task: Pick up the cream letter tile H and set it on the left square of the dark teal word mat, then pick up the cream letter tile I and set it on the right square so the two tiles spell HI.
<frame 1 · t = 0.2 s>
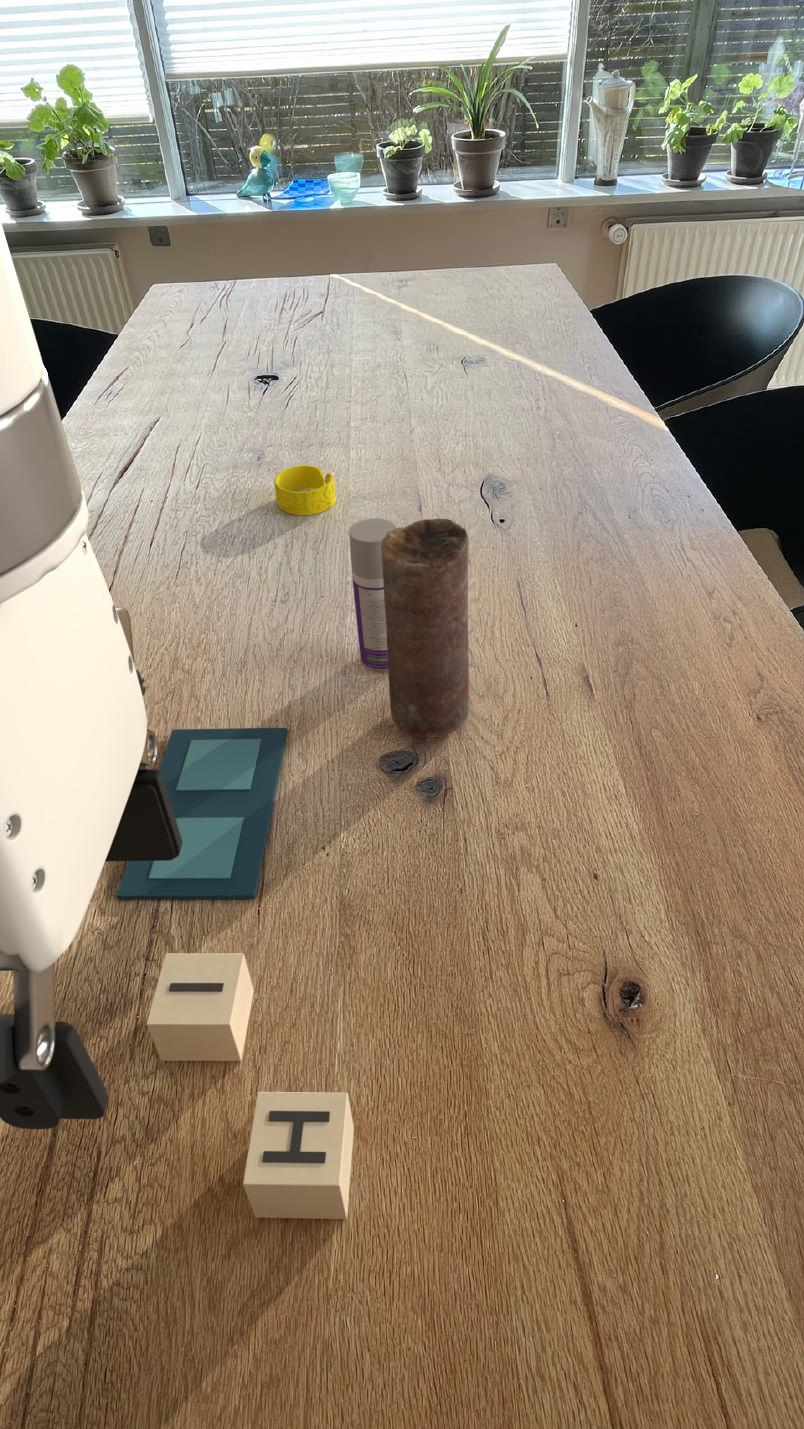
hand: (102, 966, 31), 33 cm above the table, tool pointing down, fingers open, 9 cm apart
bracelet: (306, 502, 125), on the table
tile H: (306, 1171, 58), on the table
word mat: (210, 808, 82), on the table
tile I: (209, 1024, 66), on the table
candle: (430, 723, 90), on the table
container: (383, 660, 98), on the table
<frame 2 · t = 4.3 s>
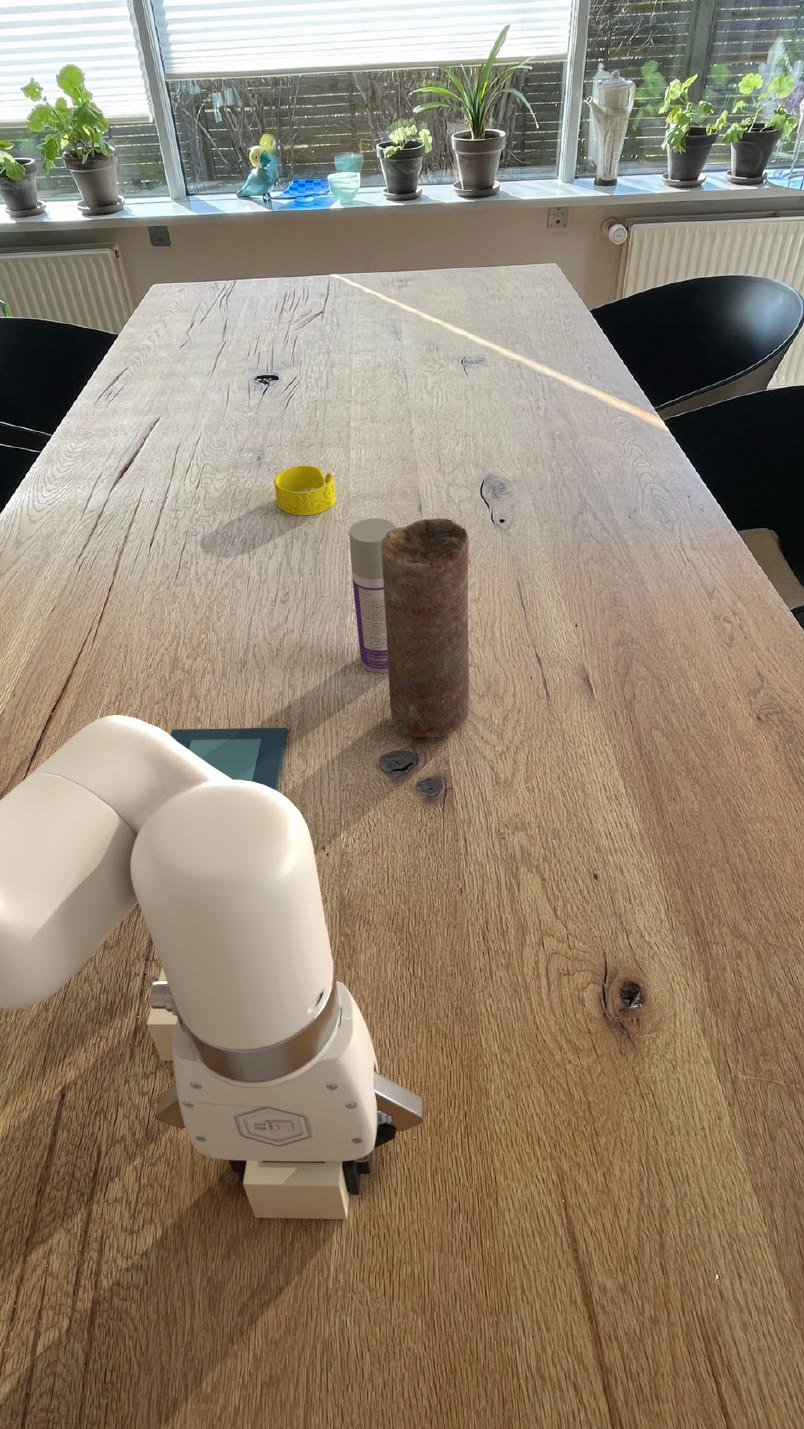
hand: (305, 1167, 58), 1 cm above the table, tool pointing down, fingers closed on tile H, 5 cm apart
tile H: (306, 1171, 58), on the table, touching gripper
everything else where it was.
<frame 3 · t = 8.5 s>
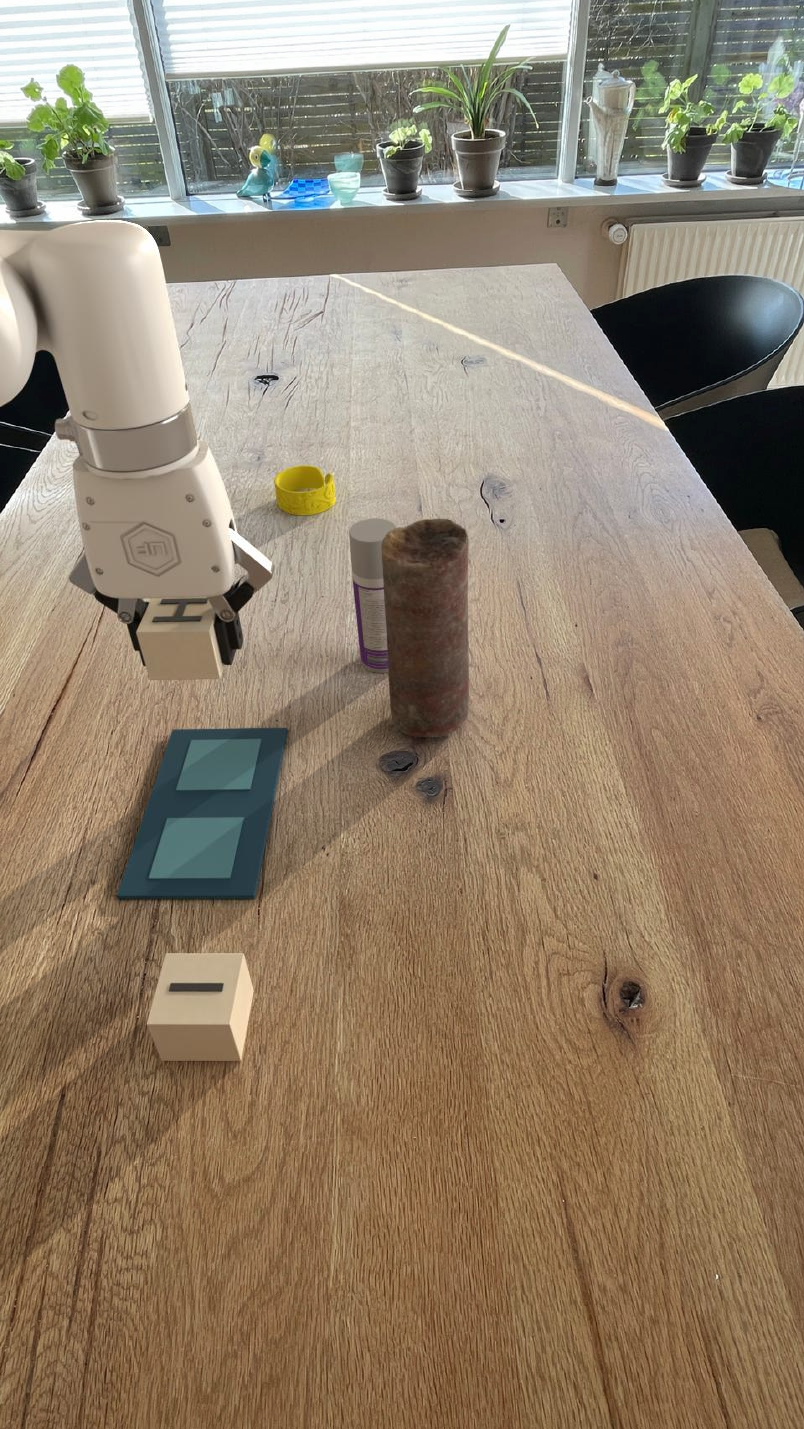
hand: (191, 653, 74), 15 cm above the table, tool pointing down, fingers closed on tile H, 5 cm apart
tile H: (192, 658, 74), point 15 cm above the table, touching gripper
everything else where it was.
when the fingers open (1 cm above the table, at t = 12.5 s): tile H stays where it is, resting on word mat.
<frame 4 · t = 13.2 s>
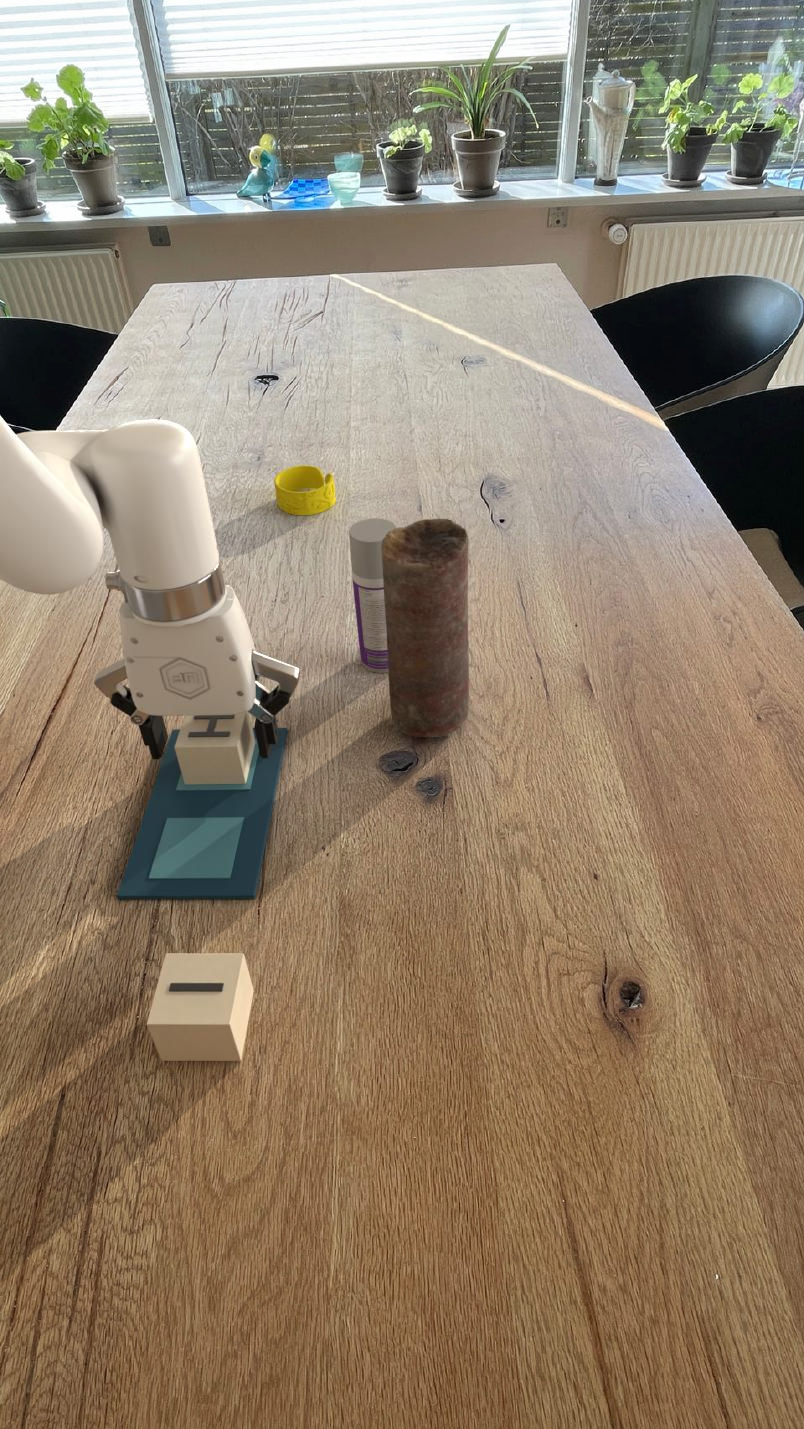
hand: (213, 748, 85), 3 cm above the table, tool pointing down, fingers open, 9 cm apart
tile H: (221, 763, 86), point 1 cm above the table, touching word mat
everything else where it was.
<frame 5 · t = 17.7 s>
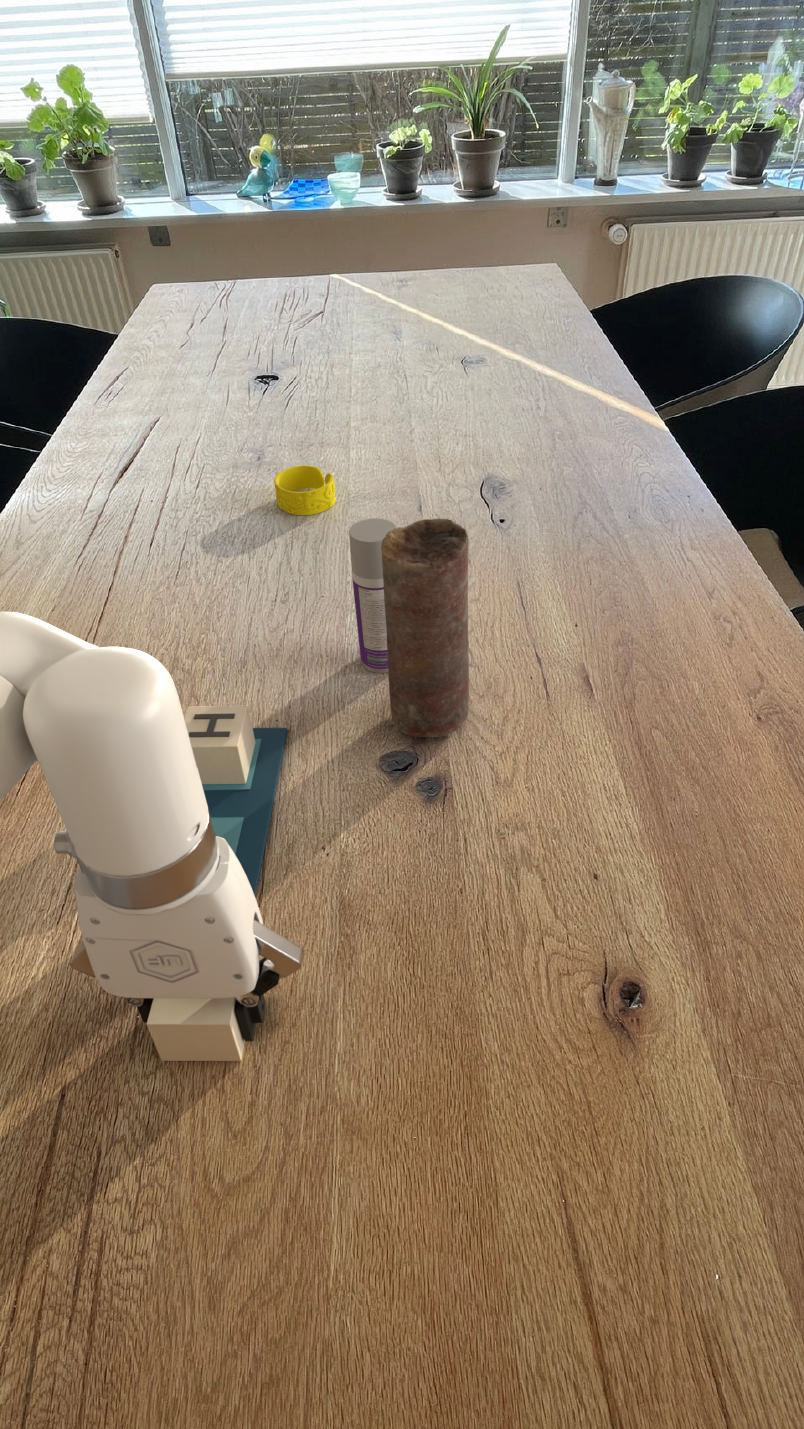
hand: (207, 1020, 66), 1 cm above the table, tool pointing down, fingers closed on tile I, 5 cm apart
tile I: (209, 1024, 66), on the table, touching gripper
everything else where it was.
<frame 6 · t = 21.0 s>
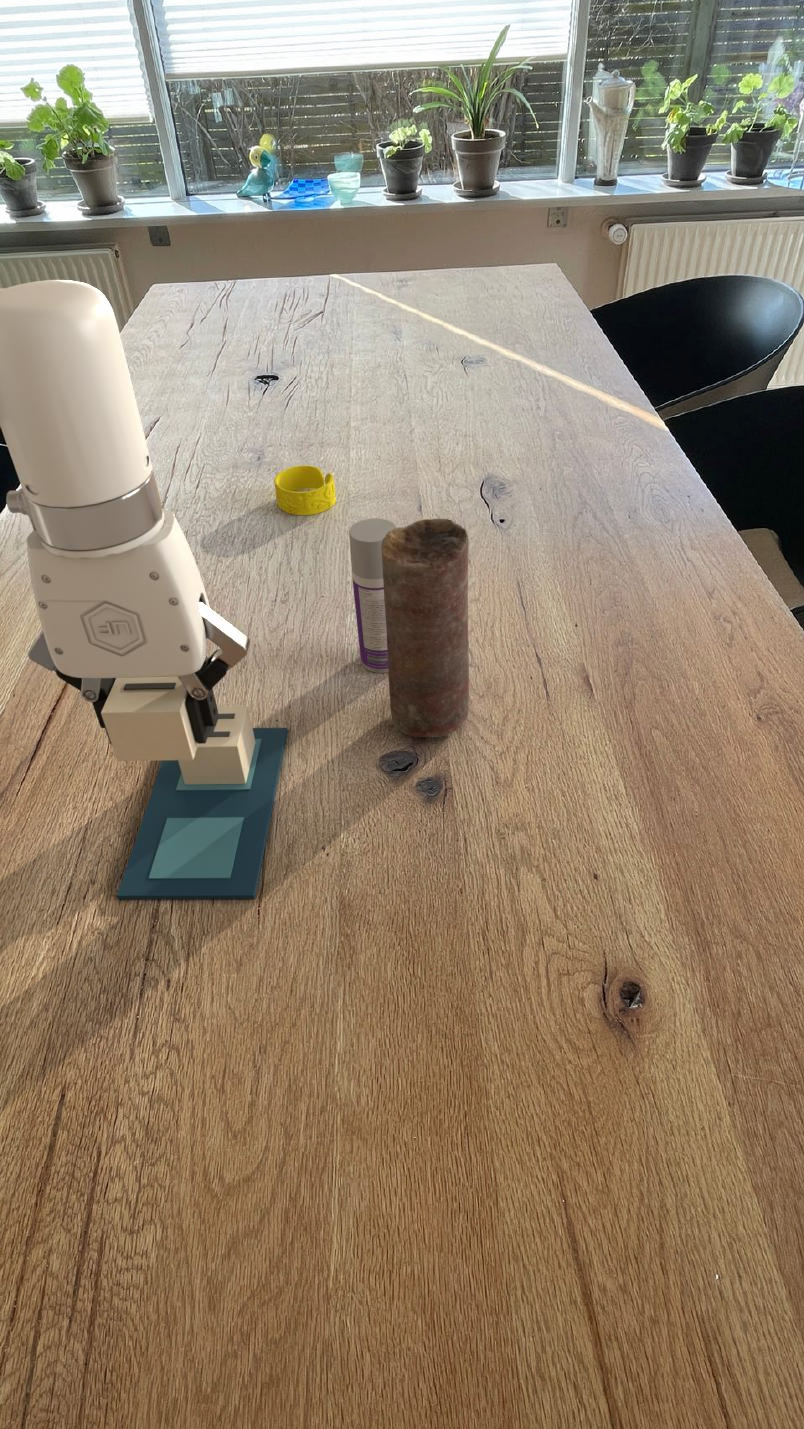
hand: (162, 729, 69), 14 cm above the table, tool pointing down, fingers closed on tile I, 5 cm apart
tile I: (164, 734, 69), point 14 cm above the table, touching gripper
everything else where it was.
when the fingers open (1 cm above the table, at t = 24.4 s): tile I stays where it is, resting on word mat.
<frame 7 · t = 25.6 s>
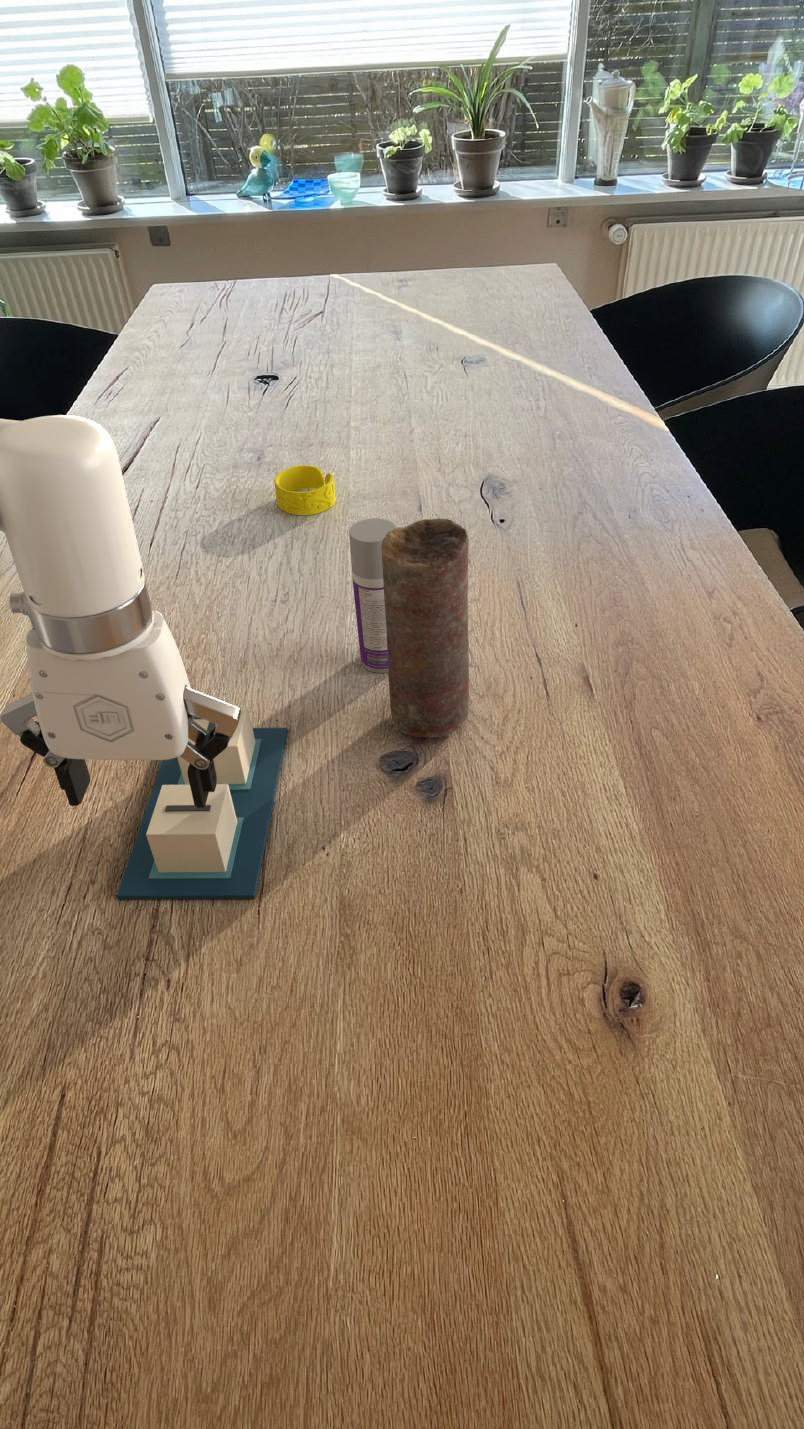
hand: (142, 794, 74), 7 cm above the table, tool pointing down, fingers open, 9 cm apart
tile I: (198, 846, 78), point 1 cm above the table, touching word mat
everything else where it was.
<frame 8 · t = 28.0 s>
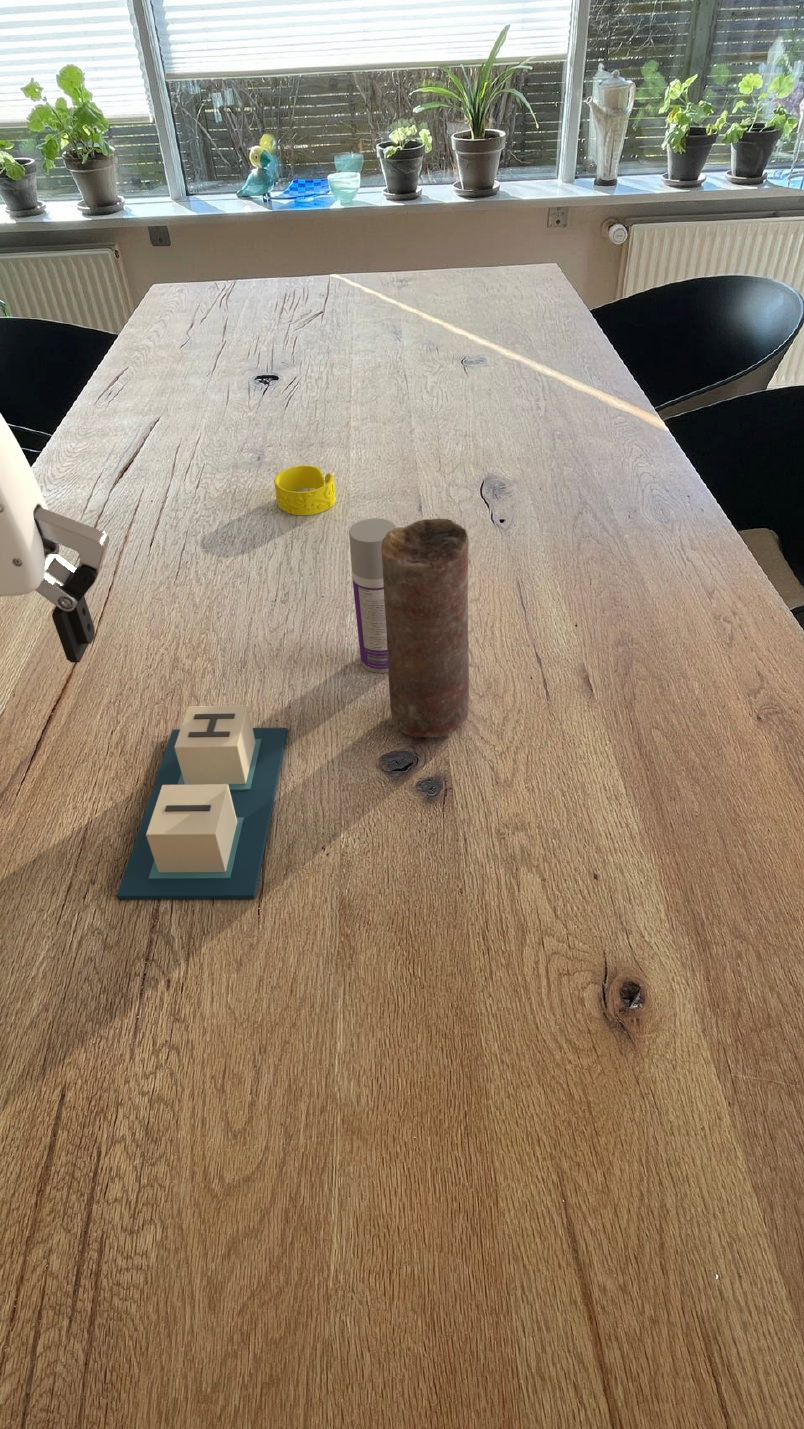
hand: (10, 651, 63), 22 cm above the table, tool pointing down, fingers open, 9 cm apart
nothing on the table moved.
at the end: tile H 0.1 cm from the target spot on the word mat, point 0.6 cm above the word mat's base; tile I 0.1 cm from the target spot on the word mat, point 0.6 cm above the word mat's base; tile I tilted 0° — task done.
